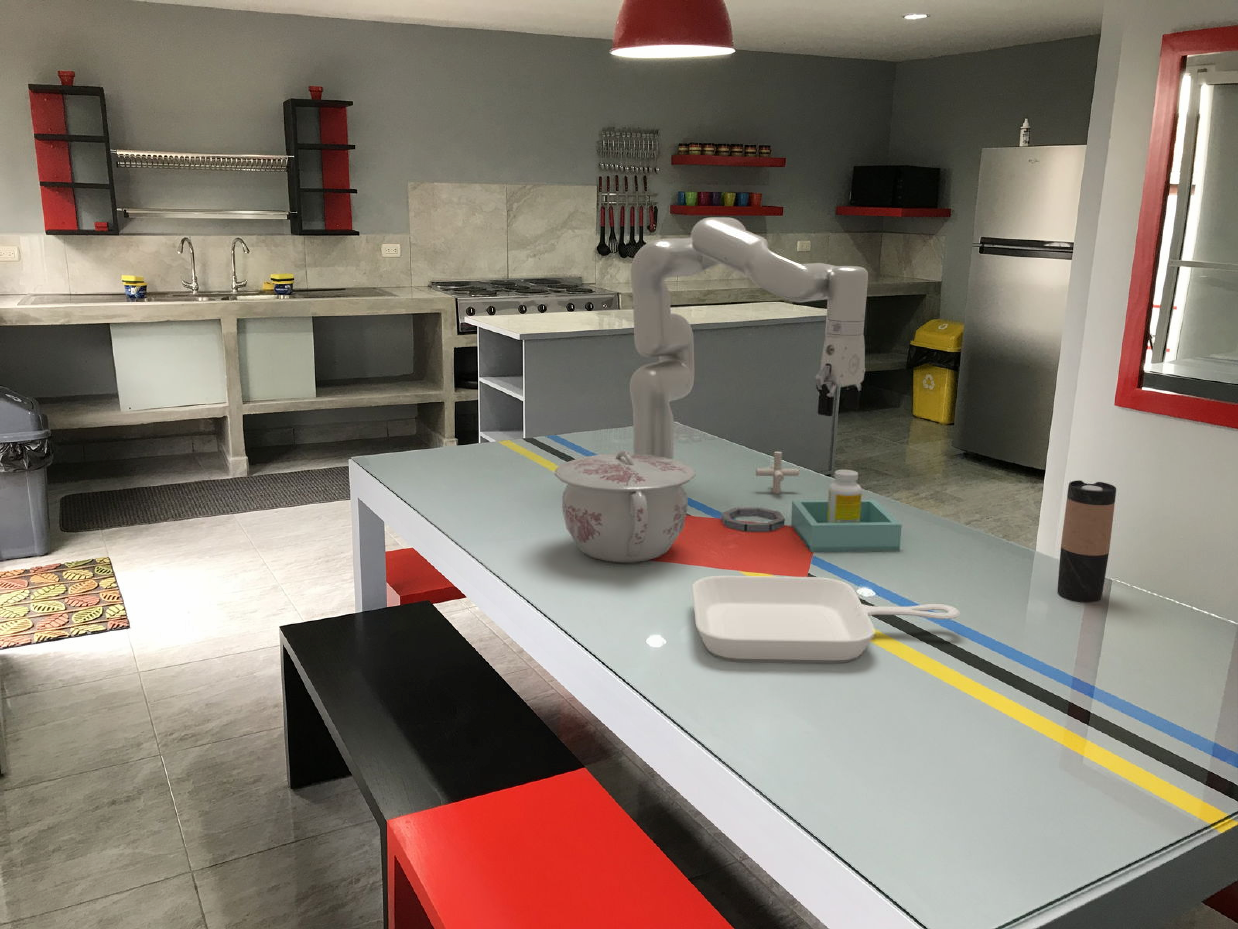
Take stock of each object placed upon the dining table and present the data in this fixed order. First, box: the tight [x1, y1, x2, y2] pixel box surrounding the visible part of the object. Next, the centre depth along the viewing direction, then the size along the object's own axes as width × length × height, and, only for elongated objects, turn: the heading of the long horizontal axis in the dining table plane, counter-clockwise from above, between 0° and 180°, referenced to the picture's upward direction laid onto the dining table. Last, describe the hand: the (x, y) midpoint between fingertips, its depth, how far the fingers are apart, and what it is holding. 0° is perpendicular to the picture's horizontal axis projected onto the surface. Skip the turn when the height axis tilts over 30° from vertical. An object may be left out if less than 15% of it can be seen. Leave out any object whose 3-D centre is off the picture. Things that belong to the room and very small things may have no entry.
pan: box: [691, 575, 961, 664], centre depth 160 cm, size 27×42×5 cm, turn 88°
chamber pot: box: [553, 449, 696, 564], centre depth 195 cm, size 28×28×21 cm
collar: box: [720, 506, 786, 533], centre depth 217 cm, size 13×13×2 cm
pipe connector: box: [755, 451, 800, 495], centre depth 240 cm, size 10×10×10 cm
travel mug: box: [1057, 479, 1117, 604], centre depth 173 cm, size 8×8×20 cm
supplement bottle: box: [827, 469, 863, 523], centre depth 206 cm, size 7×7×13 cm
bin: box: [790, 499, 903, 553], centre depth 207 cm, size 18×18×6 cm
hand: (838, 412), depth 205 cm, fingers open, 9 cm apart
